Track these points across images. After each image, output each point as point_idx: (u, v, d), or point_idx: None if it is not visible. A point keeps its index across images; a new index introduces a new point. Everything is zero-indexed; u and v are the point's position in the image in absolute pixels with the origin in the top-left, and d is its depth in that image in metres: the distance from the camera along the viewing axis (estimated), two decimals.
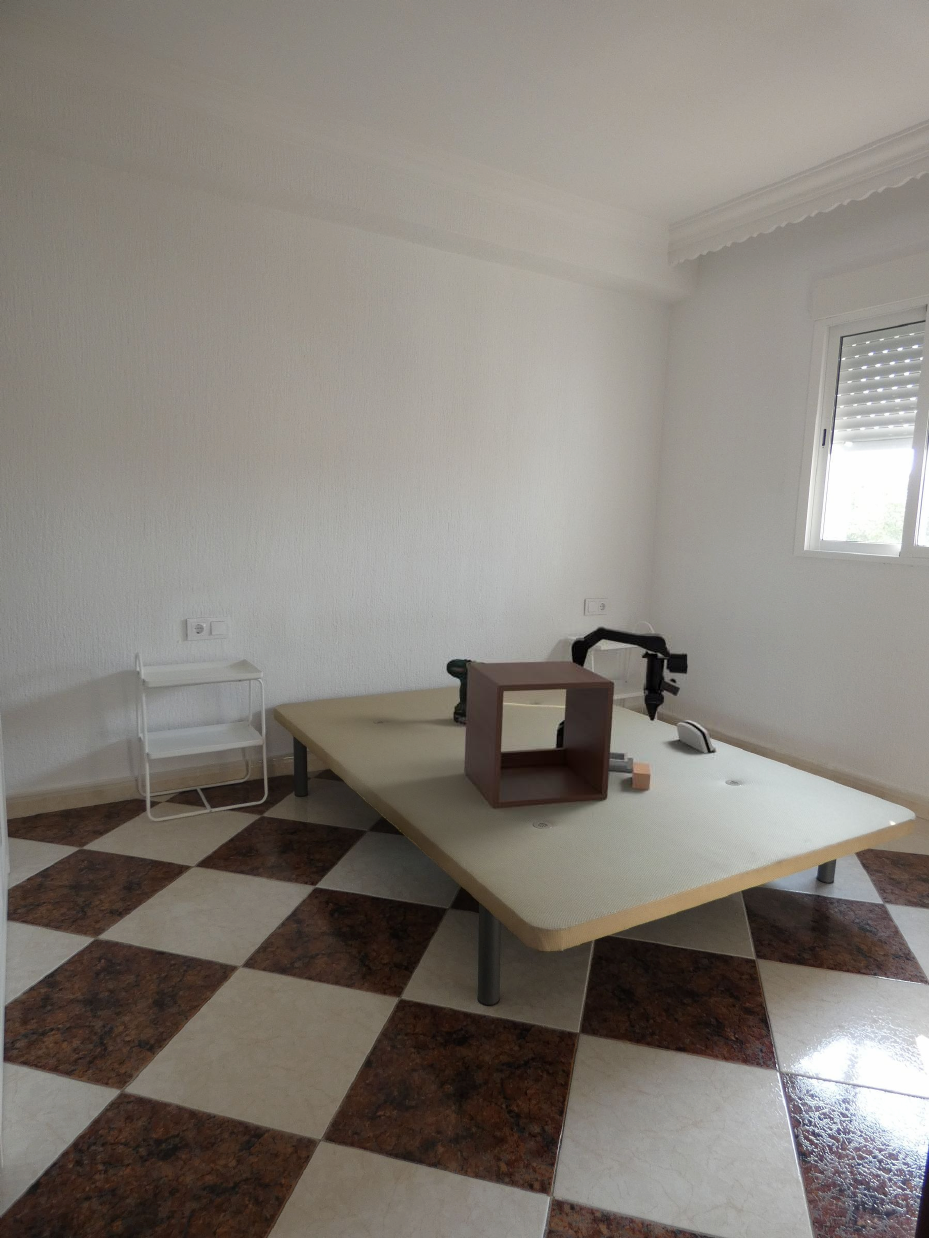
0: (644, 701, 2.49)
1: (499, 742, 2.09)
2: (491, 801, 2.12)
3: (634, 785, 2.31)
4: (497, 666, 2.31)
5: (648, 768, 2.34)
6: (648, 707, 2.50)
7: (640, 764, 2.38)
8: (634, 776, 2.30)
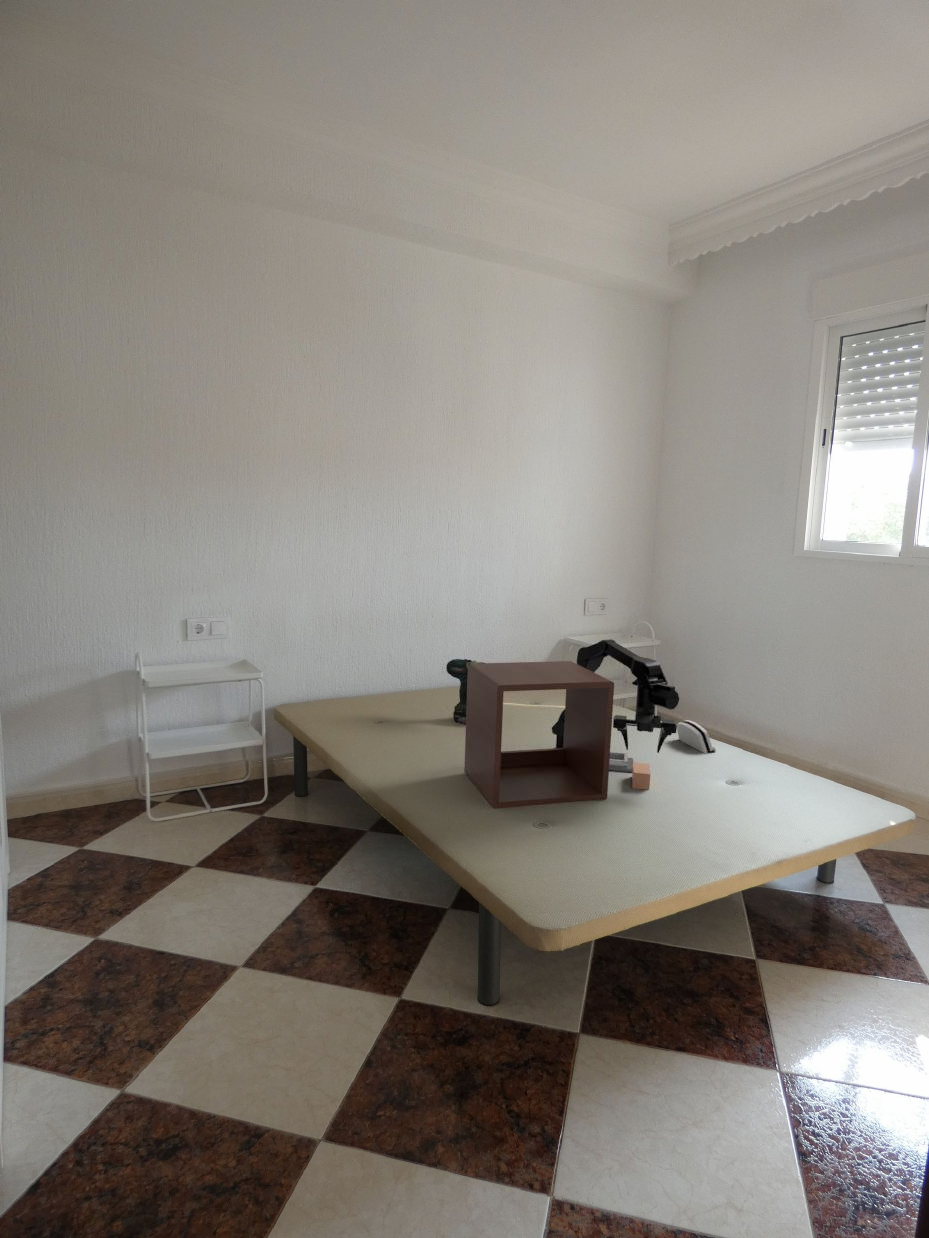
0: None
1: (499, 742, 2.09)
2: (491, 801, 2.12)
3: (634, 785, 2.31)
4: (497, 666, 2.31)
5: (648, 768, 2.34)
6: None
7: (640, 764, 2.38)
8: (634, 776, 2.30)
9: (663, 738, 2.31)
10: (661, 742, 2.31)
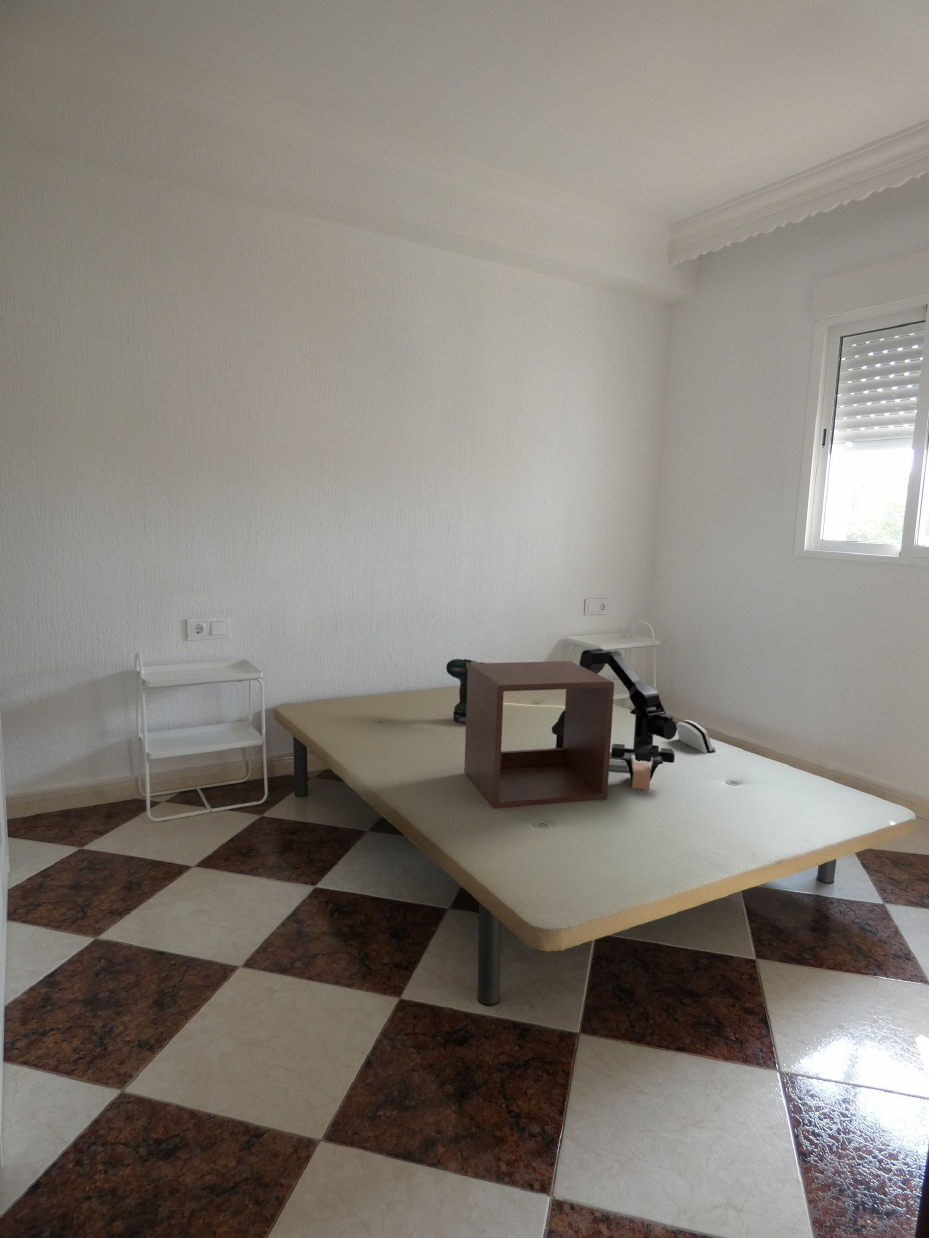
0: None
1: (499, 742, 2.09)
2: (491, 801, 2.12)
3: (634, 784, 2.31)
4: (497, 666, 2.31)
5: (648, 767, 2.34)
6: None
7: (640, 763, 2.38)
8: (634, 775, 2.30)
9: (655, 766, 2.32)
10: (653, 770, 2.33)
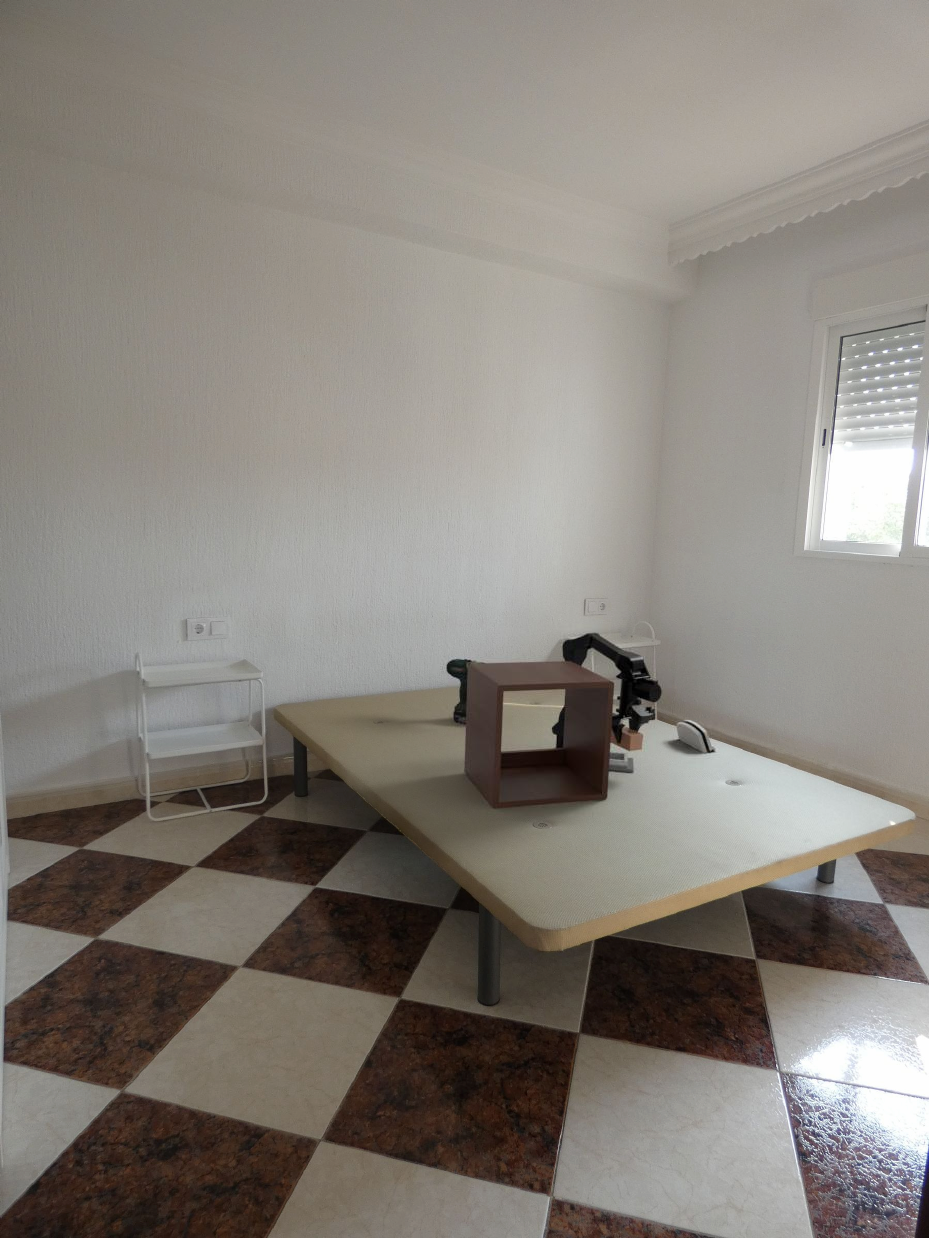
0: None
1: (499, 742, 2.09)
2: (491, 801, 2.12)
3: (631, 748, 2.36)
4: (497, 666, 2.31)
5: (630, 729, 2.42)
6: (612, 728, 2.40)
7: None
8: (631, 739, 2.36)
9: (639, 727, 2.41)
10: (637, 731, 2.42)
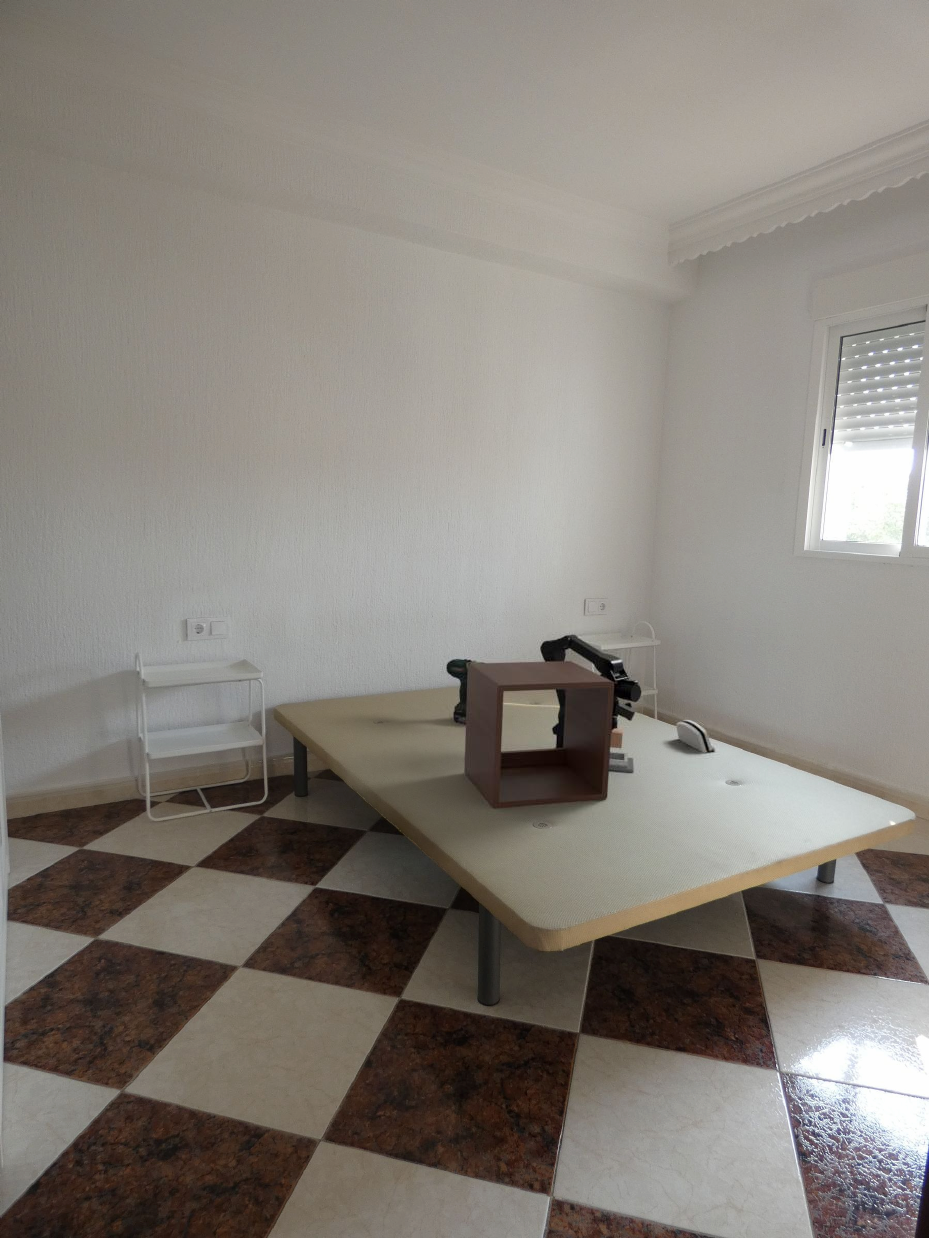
0: None
1: (499, 742, 2.09)
2: (491, 801, 2.12)
3: (621, 745, 2.48)
4: (497, 666, 2.31)
5: None
6: None
7: None
8: None
9: None
10: None
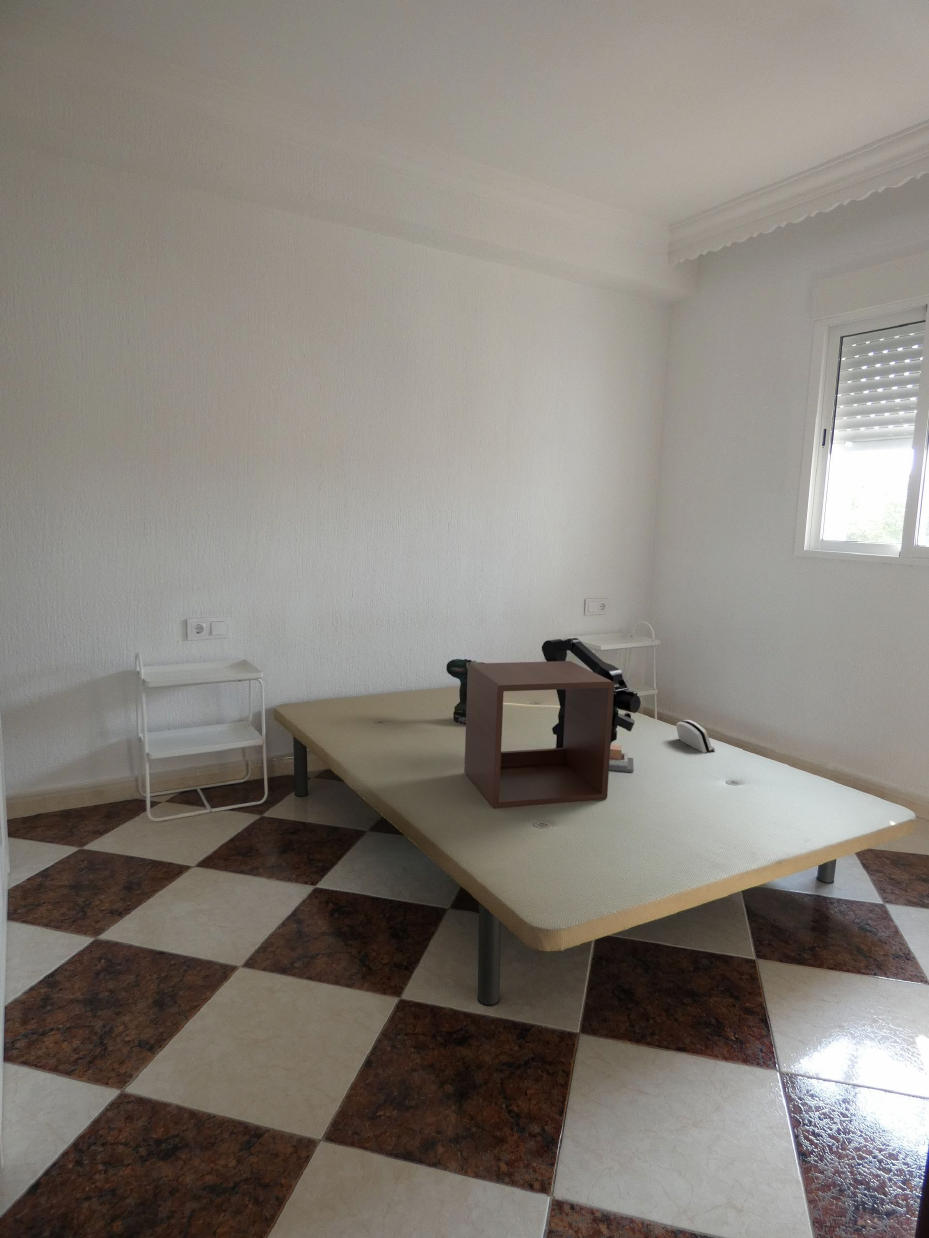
0: None
1: (499, 742, 2.09)
2: (491, 801, 2.12)
3: None
4: (497, 666, 2.31)
5: None
6: None
7: None
8: None
9: None
10: None
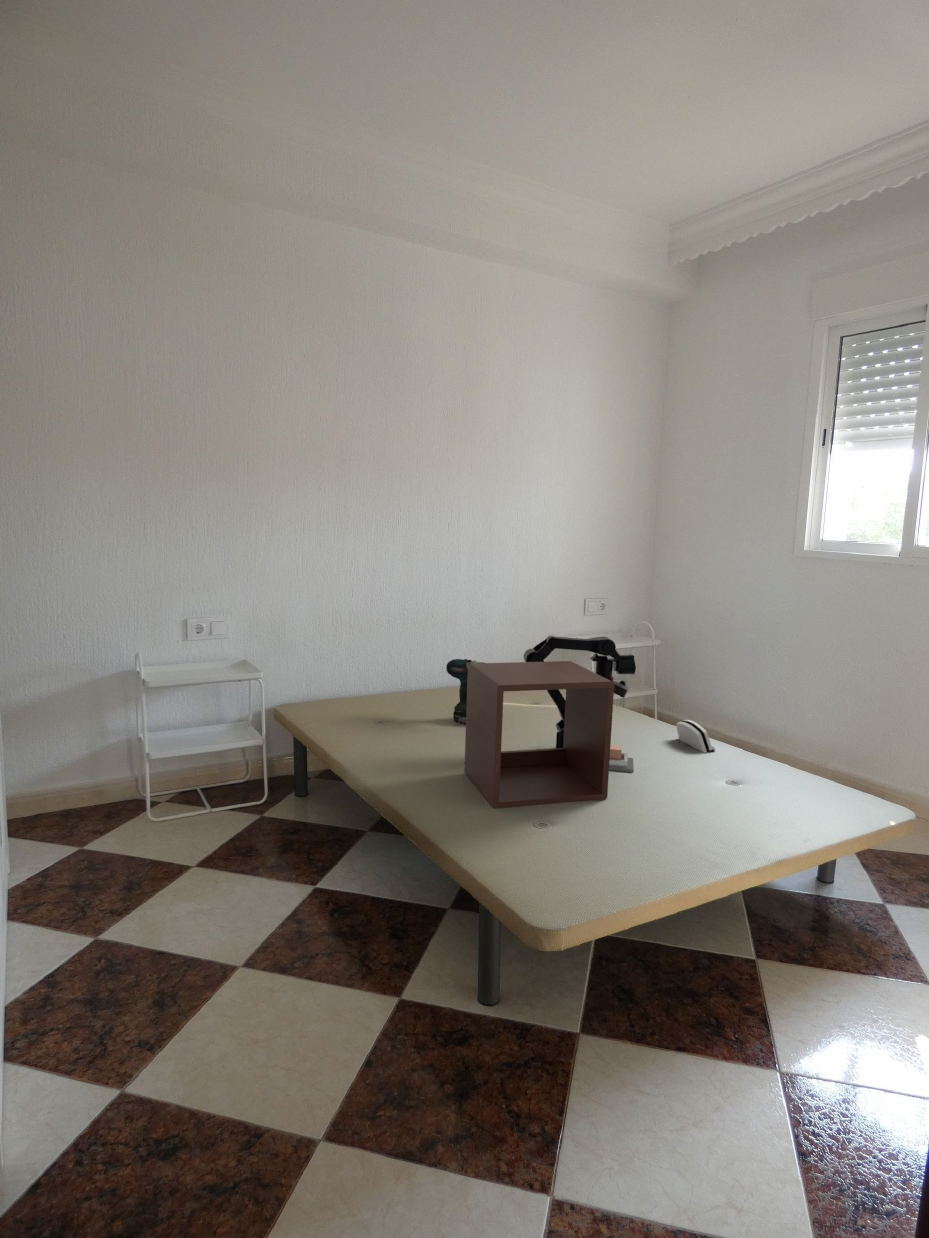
0: None
1: (499, 742, 2.09)
2: (491, 801, 2.12)
3: None
4: (497, 666, 2.31)
5: None
6: None
7: None
8: None
9: None
10: None
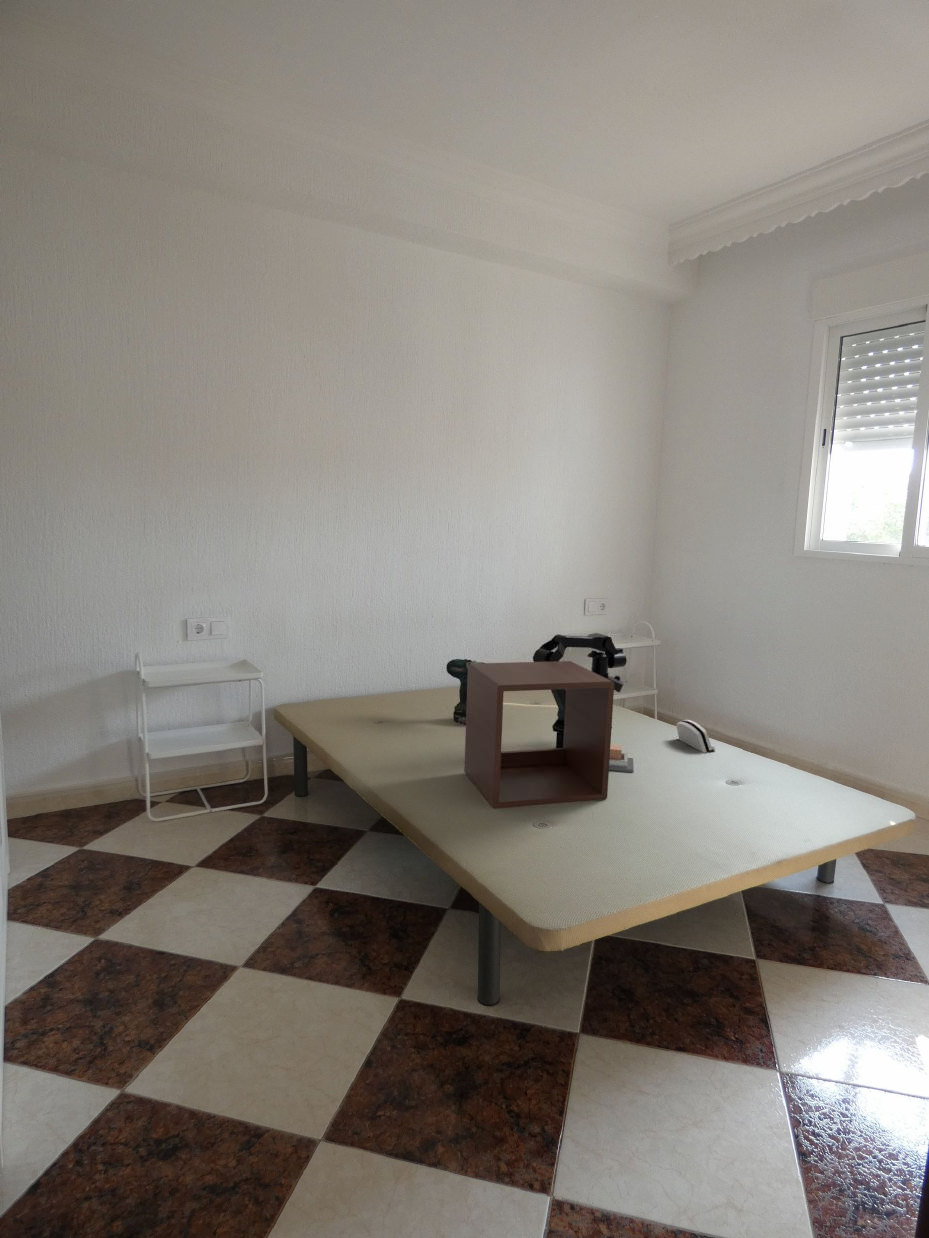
0: None
1: (499, 742, 2.09)
2: (491, 801, 2.12)
3: None
4: (497, 666, 2.31)
5: None
6: None
7: None
8: None
9: None
10: None
